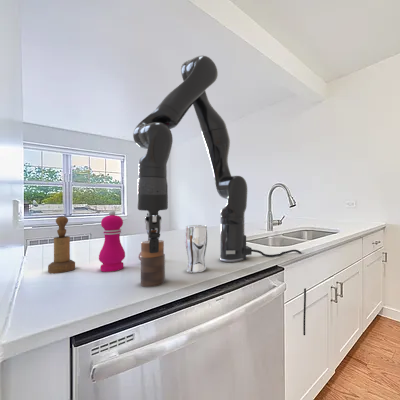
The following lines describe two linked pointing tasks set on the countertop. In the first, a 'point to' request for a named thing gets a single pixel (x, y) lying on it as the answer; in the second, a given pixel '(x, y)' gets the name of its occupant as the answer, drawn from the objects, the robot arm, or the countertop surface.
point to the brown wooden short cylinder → (145, 250)
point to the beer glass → (196, 247)
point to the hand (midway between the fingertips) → (153, 249)
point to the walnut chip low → (152, 278)
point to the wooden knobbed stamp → (61, 250)
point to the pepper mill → (112, 244)
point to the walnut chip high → (153, 264)
